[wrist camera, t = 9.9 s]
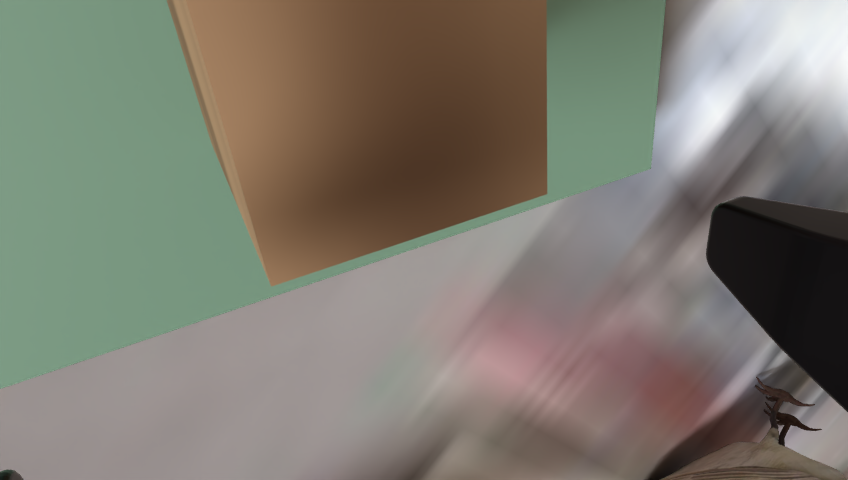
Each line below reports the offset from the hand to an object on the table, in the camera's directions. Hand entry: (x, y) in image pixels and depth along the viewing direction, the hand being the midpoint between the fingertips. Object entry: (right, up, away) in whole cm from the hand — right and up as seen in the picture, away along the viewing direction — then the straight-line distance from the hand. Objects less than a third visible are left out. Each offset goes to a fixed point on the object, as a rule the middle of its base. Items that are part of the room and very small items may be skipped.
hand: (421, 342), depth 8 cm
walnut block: (-3, +6, +6) cm, 9 cm away
